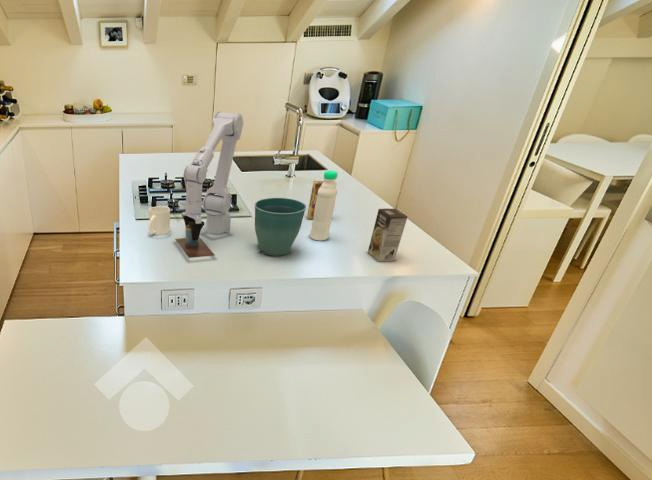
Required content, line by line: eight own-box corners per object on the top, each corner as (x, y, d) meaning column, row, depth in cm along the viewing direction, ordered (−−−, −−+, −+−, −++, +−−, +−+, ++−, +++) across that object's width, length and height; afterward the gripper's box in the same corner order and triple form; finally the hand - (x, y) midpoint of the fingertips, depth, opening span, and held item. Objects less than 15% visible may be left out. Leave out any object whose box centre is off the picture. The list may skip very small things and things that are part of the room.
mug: (158, 242, 200) (158, 216, 194) (140, 238, 204) (140, 213, 197) (173, 233, 208) (173, 208, 202) (156, 229, 212) (156, 205, 206)
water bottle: (328, 235, 203) (341, 170, 188) (327, 241, 197) (341, 174, 183) (310, 234, 205) (321, 168, 190) (308, 240, 199) (320, 173, 185)
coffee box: (366, 252, 188) (377, 208, 179) (383, 251, 189) (395, 207, 179) (377, 261, 181) (390, 216, 171) (395, 261, 181) (408, 215, 172)
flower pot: (289, 263, 181) (296, 216, 171) (242, 254, 189) (246, 208, 179) (304, 247, 193) (312, 202, 183) (260, 239, 201) (265, 195, 191)
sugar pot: (193, 240, 197) (194, 220, 193) (202, 244, 193) (203, 224, 189) (181, 243, 195) (182, 223, 190) (190, 247, 191) (191, 227, 186)
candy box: (308, 219, 219) (314, 183, 210) (306, 216, 222) (312, 180, 213) (329, 219, 218) (336, 183, 209) (327, 216, 222) (334, 180, 213)
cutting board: (174, 242, 200) (174, 238, 199) (199, 240, 201) (199, 236, 200) (188, 261, 184) (188, 257, 183) (214, 259, 185) (215, 255, 184)
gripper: (178, 195, 189) (177, 231, 197) (188, 206, 178) (187, 244, 186) (196, 194, 190) (194, 229, 198) (207, 205, 179) (205, 242, 187)
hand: (192, 236), depth 192 cm, fingers open, 7 cm apart
